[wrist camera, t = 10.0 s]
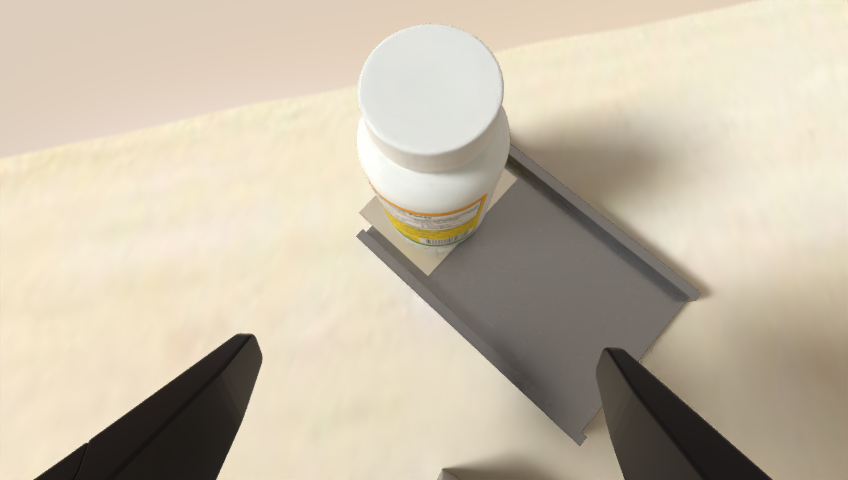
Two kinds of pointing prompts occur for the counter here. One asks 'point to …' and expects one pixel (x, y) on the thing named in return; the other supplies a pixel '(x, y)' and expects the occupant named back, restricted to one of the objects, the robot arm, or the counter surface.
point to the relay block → (446, 476)
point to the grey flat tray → (540, 288)
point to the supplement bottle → (433, 131)
